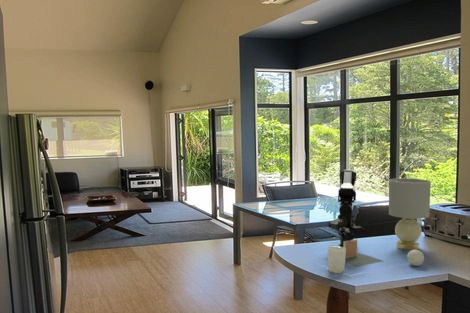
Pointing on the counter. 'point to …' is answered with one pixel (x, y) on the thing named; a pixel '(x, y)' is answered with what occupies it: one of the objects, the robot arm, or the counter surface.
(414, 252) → the seamed sphere
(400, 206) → the lamp
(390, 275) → the counter surface
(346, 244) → the tile
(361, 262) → the mat
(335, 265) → the white cup
